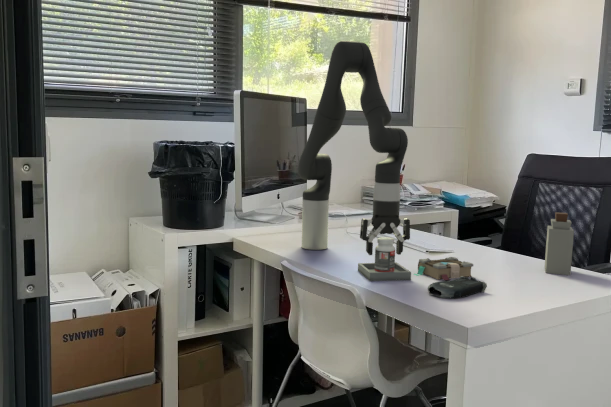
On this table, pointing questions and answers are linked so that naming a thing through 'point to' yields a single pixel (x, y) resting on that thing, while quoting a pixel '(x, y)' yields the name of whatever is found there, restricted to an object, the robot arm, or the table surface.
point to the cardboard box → (444, 268)
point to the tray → (383, 273)
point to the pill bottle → (385, 255)
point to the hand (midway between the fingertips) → (384, 254)
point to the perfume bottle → (559, 245)
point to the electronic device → (457, 287)
